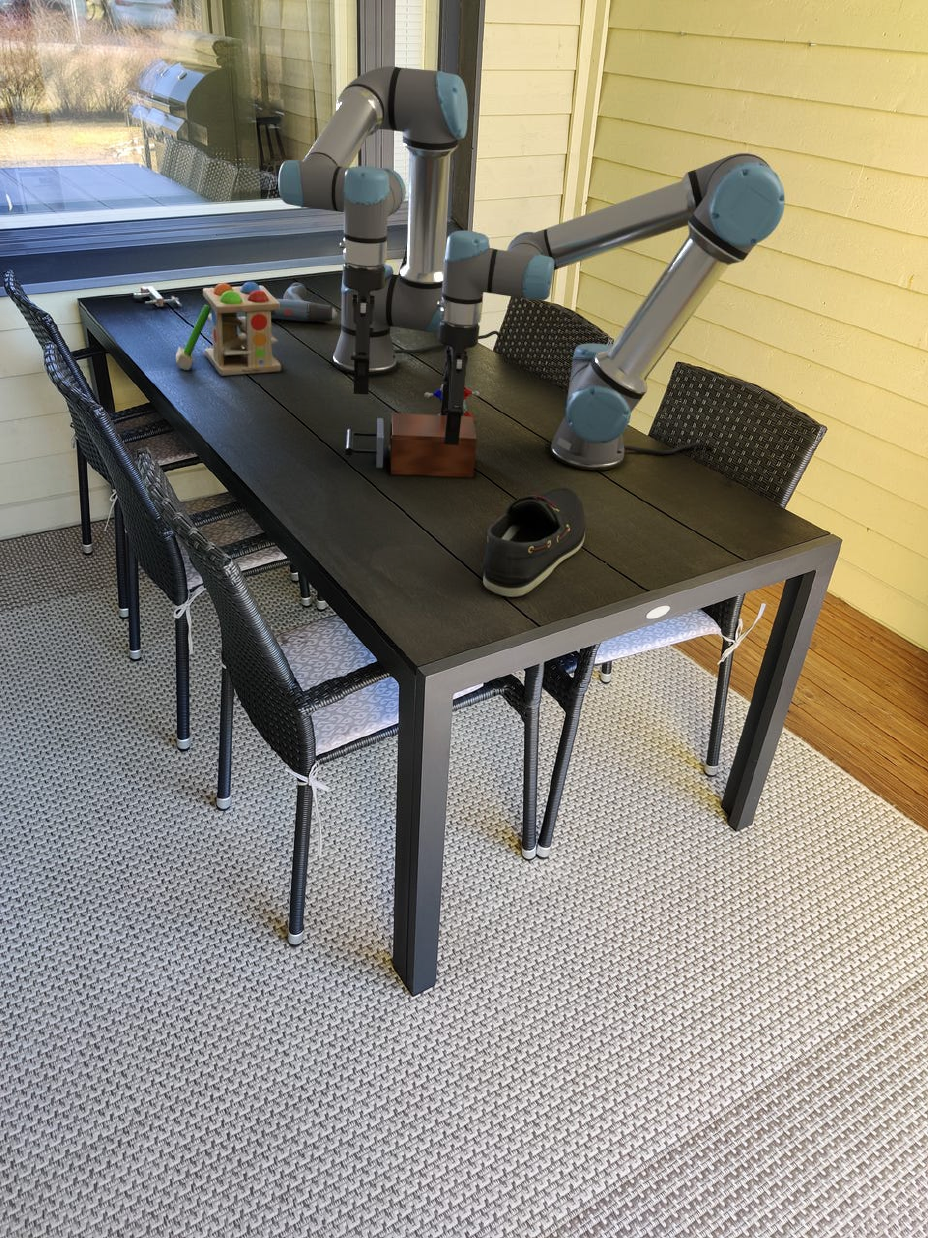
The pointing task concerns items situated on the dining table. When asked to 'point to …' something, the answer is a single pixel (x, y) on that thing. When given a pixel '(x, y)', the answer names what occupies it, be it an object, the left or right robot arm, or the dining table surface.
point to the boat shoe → (532, 541)
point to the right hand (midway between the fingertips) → (449, 429)
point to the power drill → (301, 307)
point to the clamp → (155, 297)
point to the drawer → (380, 435)
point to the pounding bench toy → (229, 347)
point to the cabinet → (431, 446)
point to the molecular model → (466, 393)
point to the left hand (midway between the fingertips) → (361, 380)
